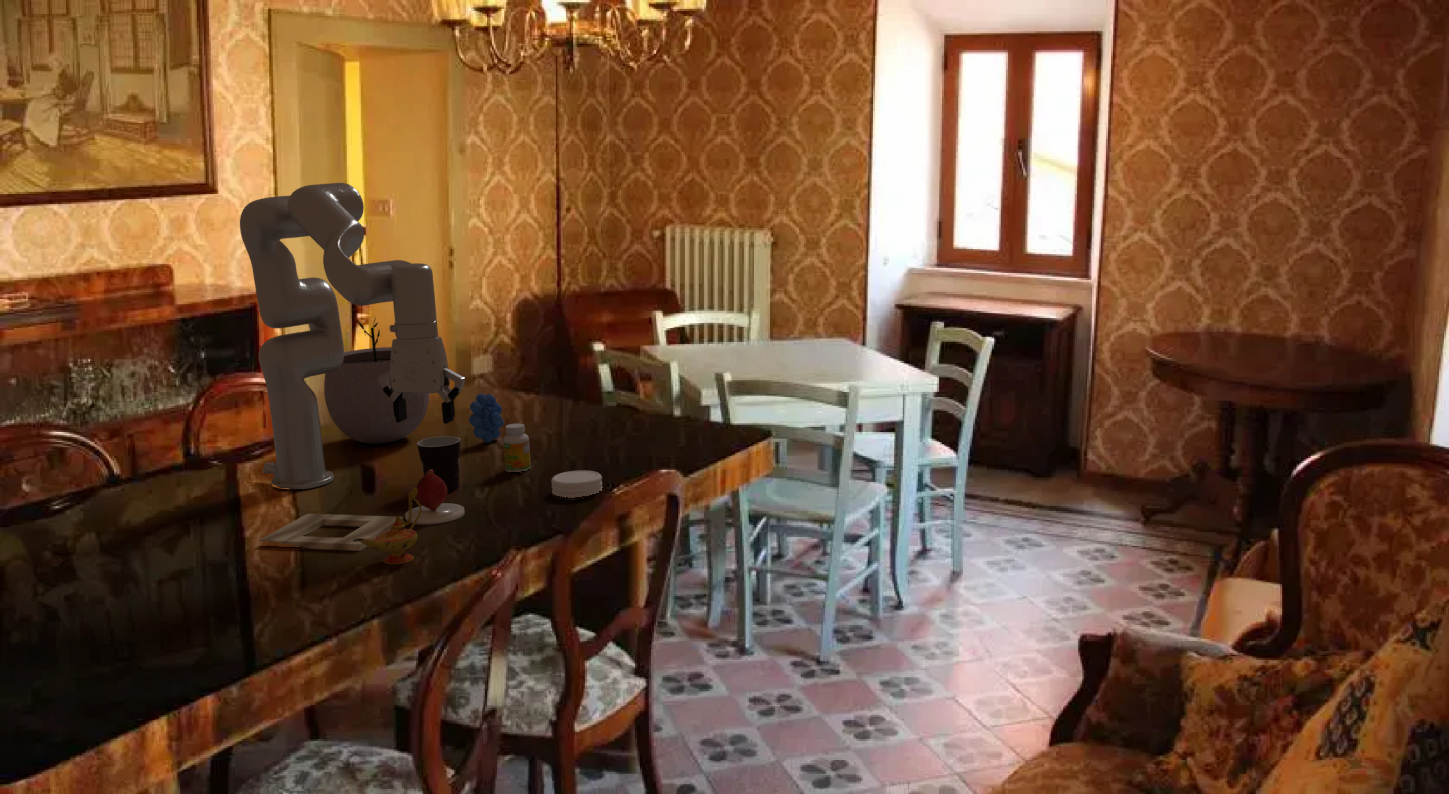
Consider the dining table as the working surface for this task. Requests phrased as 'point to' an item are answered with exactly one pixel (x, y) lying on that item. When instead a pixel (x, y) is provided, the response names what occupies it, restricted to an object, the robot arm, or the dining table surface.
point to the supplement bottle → (516, 449)
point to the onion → (431, 491)
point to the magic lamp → (396, 538)
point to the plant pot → (369, 397)
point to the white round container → (576, 484)
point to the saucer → (436, 514)
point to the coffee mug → (441, 459)
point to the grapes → (486, 417)
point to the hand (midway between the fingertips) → (425, 421)
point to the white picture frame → (311, 522)
